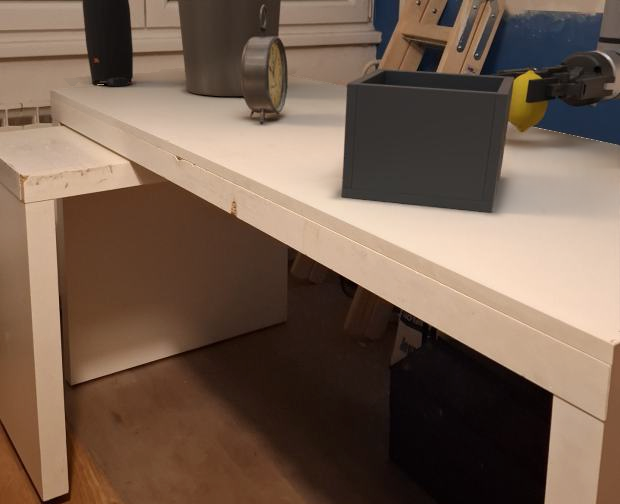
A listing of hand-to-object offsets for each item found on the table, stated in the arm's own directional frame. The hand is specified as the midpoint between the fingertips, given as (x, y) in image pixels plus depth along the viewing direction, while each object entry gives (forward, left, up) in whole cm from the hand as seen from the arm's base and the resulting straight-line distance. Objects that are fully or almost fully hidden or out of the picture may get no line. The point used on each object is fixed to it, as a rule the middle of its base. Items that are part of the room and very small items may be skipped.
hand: (508, 88), depth 97 cm
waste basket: (+53, -37, -8) cm, 65 cm away
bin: (+7, +23, -8) cm, 26 cm away
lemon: (-2, -5, -6) cm, 8 cm away
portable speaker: (+77, -35, -8) cm, 84 cm away
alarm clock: (+37, -10, -8) cm, 39 cm away
